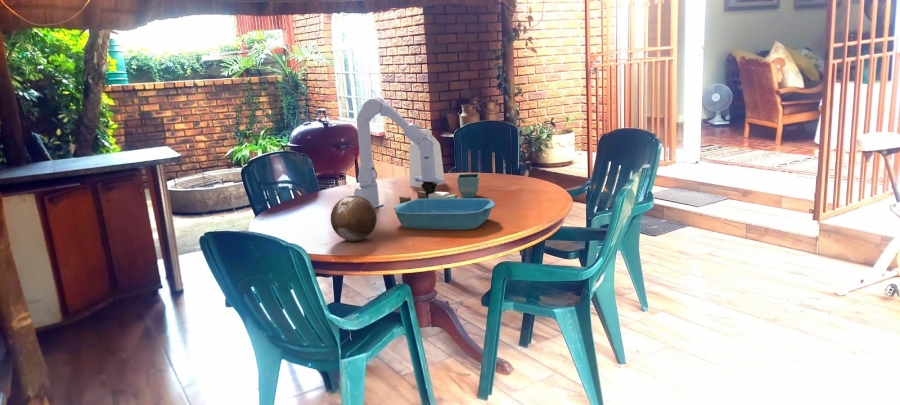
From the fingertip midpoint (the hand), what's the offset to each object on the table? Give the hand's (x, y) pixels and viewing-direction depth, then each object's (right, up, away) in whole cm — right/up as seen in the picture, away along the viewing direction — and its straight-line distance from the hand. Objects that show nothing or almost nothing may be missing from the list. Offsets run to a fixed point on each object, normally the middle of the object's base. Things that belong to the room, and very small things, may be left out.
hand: (430, 200), depth 257 cm
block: (+4, -2, -2) cm, 5 cm away
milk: (-3, +7, +41) cm, 42 cm away
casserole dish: (+6, -9, -31) cm, 33 cm away
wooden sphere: (-23, -14, -46) cm, 53 cm away
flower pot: (+16, +1, +8) cm, 18 cm away
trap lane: (-1, -1, +1) cm, 2 cm away
